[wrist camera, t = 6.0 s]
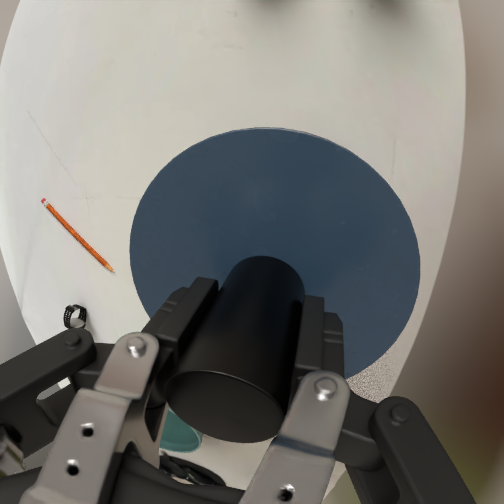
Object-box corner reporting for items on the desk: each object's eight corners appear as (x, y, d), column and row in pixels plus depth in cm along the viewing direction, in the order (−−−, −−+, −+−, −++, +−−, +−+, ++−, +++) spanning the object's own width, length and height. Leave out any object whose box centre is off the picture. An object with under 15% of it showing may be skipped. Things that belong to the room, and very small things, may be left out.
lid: (443, 157, 9) (566, 213, 3) (367, 389, 15) (369, 502, 8) (135, 124, 11) (-5, 150, 5) (155, 349, 17) (96, 439, 10)
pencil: (44, 197, 39) (41, 198, 39) (116, 270, 42) (114, 272, 41) (43, 201, 40) (40, 202, 39) (114, 273, 42) (112, 275, 41)
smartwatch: (74, 311, 48) (58, 326, 44) (78, 294, 46) (60, 309, 42) (90, 324, 49) (75, 340, 44) (95, 308, 46) (78, 324, 42)
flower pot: (122, 354, 50) (92, 394, 40) (186, 340, 44) (157, 391, 34) (170, 410, 54) (149, 449, 45) (236, 405, 49) (219, 454, 39)
